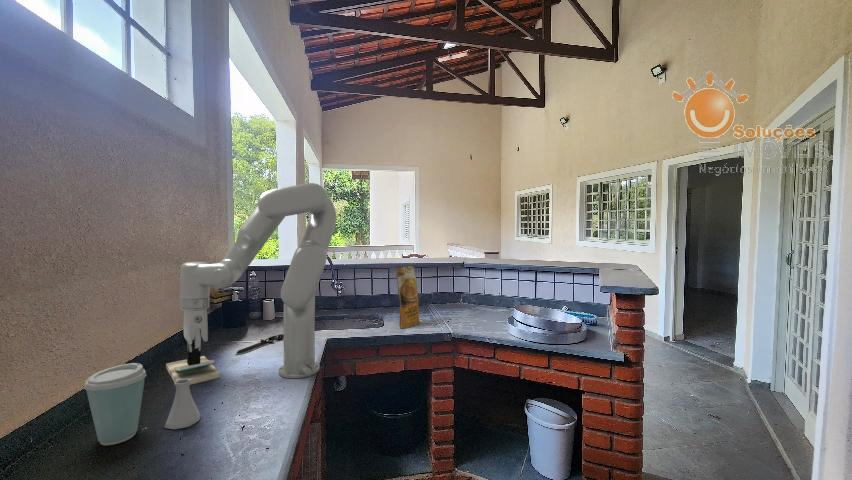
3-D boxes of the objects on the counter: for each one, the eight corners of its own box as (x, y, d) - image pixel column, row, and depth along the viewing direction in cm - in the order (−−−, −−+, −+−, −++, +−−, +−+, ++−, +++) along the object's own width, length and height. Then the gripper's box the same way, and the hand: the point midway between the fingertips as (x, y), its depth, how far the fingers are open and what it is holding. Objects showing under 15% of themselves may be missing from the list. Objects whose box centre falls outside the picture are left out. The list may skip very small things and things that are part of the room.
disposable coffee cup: (96, 458, 76) (94, 384, 75) (77, 441, 81) (75, 372, 81) (156, 433, 85) (155, 367, 84) (135, 420, 90) (134, 358, 90)
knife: (237, 357, 135) (237, 353, 135) (225, 354, 137) (225, 350, 137) (291, 338, 157) (291, 335, 157) (279, 336, 160) (279, 333, 160)
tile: (207, 360, 123) (207, 364, 123) (174, 367, 117) (175, 371, 116) (214, 359, 116) (214, 363, 116) (180, 366, 110) (180, 371, 110)
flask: (175, 415, 93) (175, 375, 92) (206, 414, 93) (206, 374, 93) (157, 431, 86) (156, 388, 85) (191, 430, 86) (190, 387, 86)
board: (219, 377, 116) (219, 372, 116) (177, 387, 108) (177, 382, 108) (204, 360, 130) (204, 355, 130) (166, 368, 123) (166, 363, 123)
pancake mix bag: (390, 328, 173) (391, 267, 172) (412, 319, 189) (413, 264, 188) (403, 330, 169) (403, 268, 168) (424, 321, 186) (424, 265, 185)
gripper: (215, 306, 109) (213, 368, 110) (203, 298, 120) (202, 354, 121) (184, 309, 104) (183, 374, 105) (175, 300, 115) (174, 359, 116)
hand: (193, 363), depth 113 cm, fingers closed
